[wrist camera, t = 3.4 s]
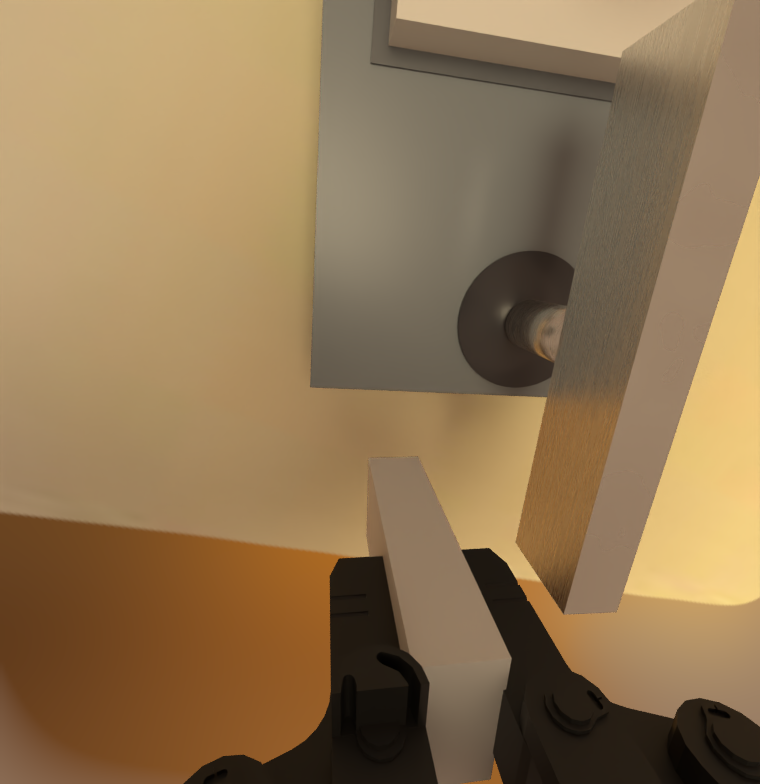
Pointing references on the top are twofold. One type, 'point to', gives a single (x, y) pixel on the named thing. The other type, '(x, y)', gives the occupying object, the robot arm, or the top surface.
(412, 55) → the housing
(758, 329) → the top surface
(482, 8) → the cover
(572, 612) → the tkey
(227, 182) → the top surface
